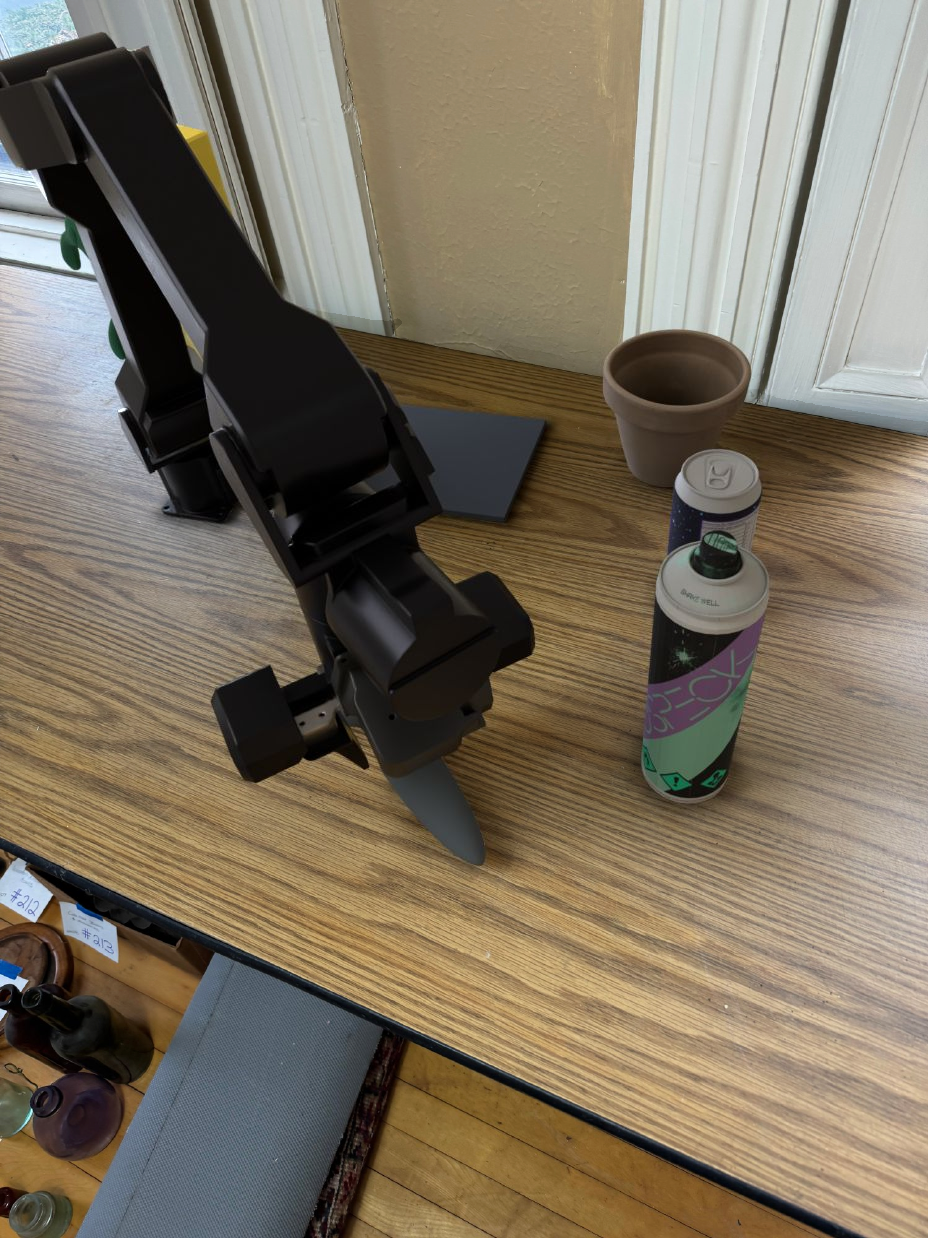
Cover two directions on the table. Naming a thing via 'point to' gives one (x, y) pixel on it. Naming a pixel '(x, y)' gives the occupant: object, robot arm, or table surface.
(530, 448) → the mat
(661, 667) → the spray can
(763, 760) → the table surface
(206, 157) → the mottled yellow carton
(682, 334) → the flower pot
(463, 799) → the paintbrush
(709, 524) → the beverage can
